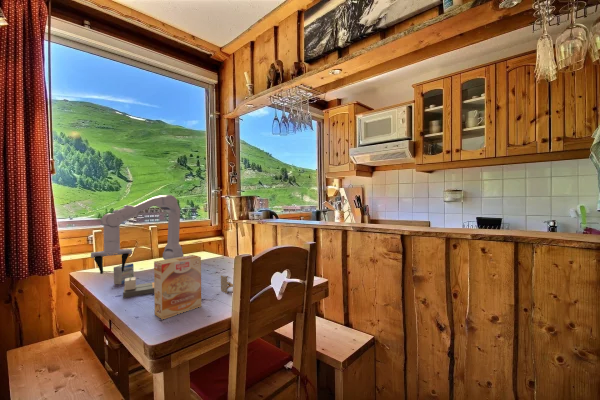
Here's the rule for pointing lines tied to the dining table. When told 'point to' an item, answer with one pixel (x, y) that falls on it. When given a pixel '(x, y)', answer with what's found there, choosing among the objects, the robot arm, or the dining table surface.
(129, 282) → the fader knob
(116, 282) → the medicine box
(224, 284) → the architectural model
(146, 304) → the dining table surface
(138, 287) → the fader panel
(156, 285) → the coffeecake box
